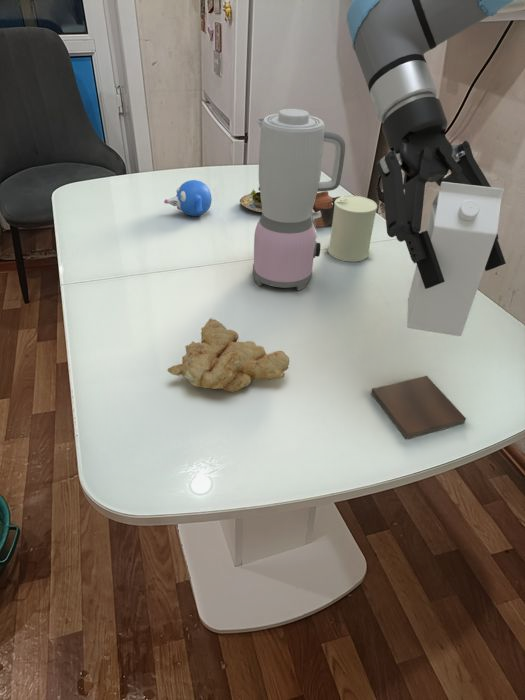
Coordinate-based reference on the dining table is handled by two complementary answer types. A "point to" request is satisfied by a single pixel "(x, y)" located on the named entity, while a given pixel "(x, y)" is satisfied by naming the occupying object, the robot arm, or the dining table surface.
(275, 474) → the dining table surface
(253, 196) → the plate of food
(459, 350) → the dining table surface
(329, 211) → the pottery mug
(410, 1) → the robot arm
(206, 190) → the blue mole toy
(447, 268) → the milk carton
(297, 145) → the blender
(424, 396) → the coaster board
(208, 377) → the ginger root
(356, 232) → the can
